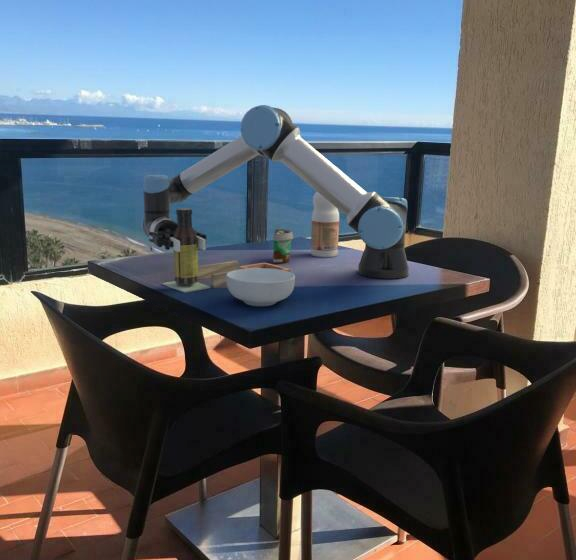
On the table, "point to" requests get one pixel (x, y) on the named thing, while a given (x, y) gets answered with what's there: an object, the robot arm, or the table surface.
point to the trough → (218, 272)
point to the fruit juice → (324, 228)
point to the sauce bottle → (185, 249)
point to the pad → (186, 286)
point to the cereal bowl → (260, 285)
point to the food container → (282, 246)
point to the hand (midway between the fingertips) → (191, 245)
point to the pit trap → (265, 266)
